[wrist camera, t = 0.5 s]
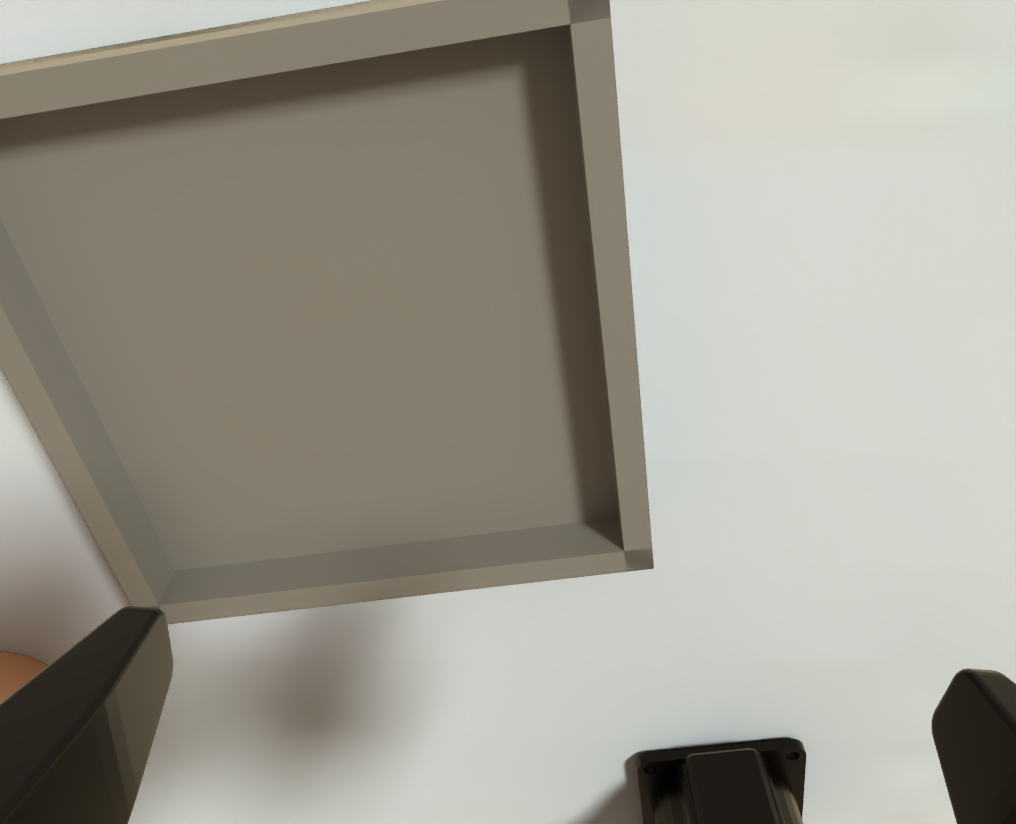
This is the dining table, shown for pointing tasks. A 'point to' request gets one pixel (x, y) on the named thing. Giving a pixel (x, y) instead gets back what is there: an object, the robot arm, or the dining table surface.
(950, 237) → the dining table surface
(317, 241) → the tray
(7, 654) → the shaker
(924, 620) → the dining table surface
